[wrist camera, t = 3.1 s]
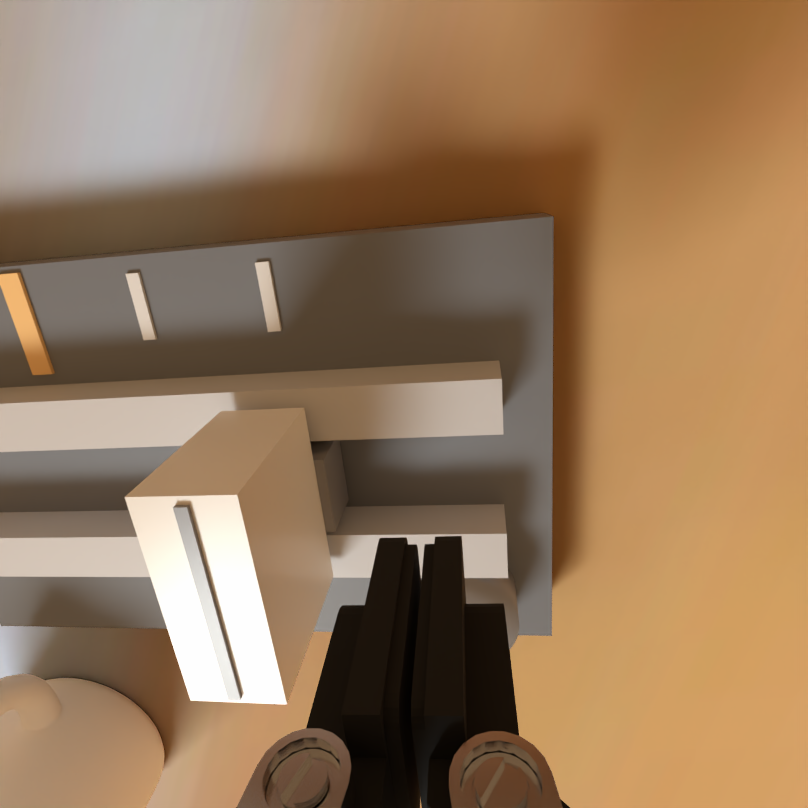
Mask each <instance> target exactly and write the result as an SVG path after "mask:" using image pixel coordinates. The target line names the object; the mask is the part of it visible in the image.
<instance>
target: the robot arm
mask: <svg viewBox="0 0 808 808" xmlns="http://www.w3.org/2000/svg"><path fill="white" fill-rule="evenodd" d="M420 797H421V804H422V808H570V807H569V806H567V805H566V804H565V803H564V802H563V801H562V800H561V799H560V797H559V794H558V791H557V787H556V784H555V781H554V778H553V775H552V772H551V770H550V768H549V766H548V764H547V762H546V759H545V757H544V756H543V755H542V754H541V753H540V752H539V751H538V750H537V748H536V747H535V746H534V745H533V744H531V743H530V742H528V741H527V740H525V739H523V738H522V737H520V736H519V731H518V722H517V713H516V704H515V696H514V687H513V678H512V669H511V660H510V651H509V643H508V634H507V625H506V616H505V608H504V603H494V604H466V591H465V577H464V562H463V547H462V536H437V537H435V540H434V544H425V546H424V556H423V568H422V579H421V575H420V565H419V555H418V547H417V544H409V545H408V541H407V538H406V537H400V538H380V539H379V542H378V546H377V551H376V555H375V560H374V564H373V569H372V574H371V578H370V583H369V588H368V592H367V597H366V602H365V605H342V606H341V607H340V609H339V612H338V614H337V618H336V622H335V625H334V629H333V633H332V636H331V640H330V644H329V647H328V651H327V655H326V658H325V662H324V666H323V669H322V673H321V676H320V680H319V684H318V687H317V691H316V695H315V698H314V702H313V706H312V709H311V713H310V717H309V720H308V724H307V728H306V729H302V730H299V731H295V732H292V733H290V734H288V735H287V736H285V737H283V738H281V739H280V740H278V741H277V742H276V743H275V744H274V745H273V746H272V747H271V748H270V749H268V750H267V751H266V753H265V754H264V756H263V757H262V759H261V760H260V762H259V763H258V765H257V767H256V769H255V771H254V773H253V775H252V777H251V779H250V781H249V783H248V785H247V787H246V789H245V791H244V793H243V796H242V798H241V800H240V802H239V804H238V806H237V807H236V808H420Z"/></svg>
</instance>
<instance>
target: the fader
mask: <svg viewBox="0 0 808 808" xmlns="http://www.w3.org/2000/svg"><path fill="white" fill-rule="evenodd" d="M125 500H126V503H127V506H128V510H129V513H130V516H131V519H132V522H133V525H134V528H135V531H136V534H137V537H138V540H139V543H140V547H141V550H142V553H143V556H144V559H145V562H146V565H147V568H148V571H149V574H150V577H151V580H152V583H153V587H154V590H155V593H156V596H157V599H158V602H159V605H160V608H161V611H162V614H163V617H164V620H165V624H166V627H167V630H168V633H169V636H170V639H171V642H172V645H173V648H174V651H175V654H176V657H177V660H178V664H179V667H180V670H181V673H182V676H183V679H184V682H185V685H186V688H187V691H188V694H189V697H190V700H191V701H212V702H238V703H263V704H287V703H288V700H289V697H290V695H291V692H292V689H293V686H294V684H295V681H296V678H297V675H298V673H299V670H300V667H301V664H302V661H303V659H304V656H305V653H306V650H307V648H308V645H309V642H310V639H311V637H312V634H313V631H314V628H315V626H316V623H317V620H318V617H319V614H320V612H321V609H322V606H323V603H324V601H325V598H326V595H327V592H328V590H329V587H330V584H331V581H332V579H333V570H332V564H331V558H330V553H329V547H328V541H327V535H326V532H336V530H337V527H338V525H339V522H340V520H341V517H342V515H343V512H344V510H345V507H346V505H347V502H348V500H349V498H348V492H347V485H346V479H345V472H344V466H343V459H342V452H341V446H340V440H332V441H310V438H309V432H308V427H307V421H306V415H305V409H304V408H281V409H259V410H237V411H221V412H219V413H218V414H217V415H216V416H215V417H214V418H213V419H212V420H210V421H209V422H208V423H207V424H206V425H205V426H204V427H203V428H202V429H200V430H199V431H198V432H197V433H196V434H195V435H194V436H193V437H191V438H190V439H189V440H188V441H187V442H186V443H185V444H184V445H182V446H181V447H180V448H179V449H178V450H177V451H176V452H175V453H173V454H172V455H171V456H170V457H169V458H168V459H167V460H166V461H164V462H163V463H162V464H161V465H160V466H159V467H158V468H157V469H156V470H154V471H153V472H152V473H151V474H150V475H149V476H148V477H147V478H145V479H144V480H143V481H142V482H141V483H140V484H139V485H138V486H136V487H135V488H134V489H133V490H132V491H131V492H130V493H129V494H127V495H126V496H125Z"/></svg>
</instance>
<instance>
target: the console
mask: <svg viewBox="0 0 808 808" xmlns="http://www.w3.org/2000/svg"><path fill="white" fill-rule="evenodd" d="M553 227H554V216H551V215H549V214H546V213H537V214H526V215H515V216H504V217H494V218H483V219H472V220H461V221H451V222H440V223H429V224H418V225H408V226H397V227H386V228H376V229H365V230H354V231H343V232H333V233H322V234H311V235H300V236H290V237H279V238H268V239H257V240H247V241H236V242H225V243H214V244H204V245H193V246H182V247H171V248H161V249H150V250H139V251H128V252H118V253H107V254H96V255H85V256H75V257H64V258H53V259H42V260H32V261H21V262H10V263H0V624H1V626H49V627H103V628H158V629H167V627H166V624H165V620H164V617H163V614H162V611H161V608H160V605H159V602H158V599H157V596H156V593H155V590H154V587H153V583H152V580H151V577H150V574H149V571H148V568H147V565H146V562H145V559H144V556H143V553H142V550H141V547H140V543H139V540H138V537H137V534H136V531H135V528H134V525H133V522H132V519H131V516H130V513H129V510H128V506H127V503H126V500H125V496H126V495H127V494H129V493H130V492H131V491H132V490H133V489H134V488H135V487H136V486H138V485H139V484H140V483H141V482H142V481H143V480H144V479H145V478H147V477H148V476H149V475H150V474H151V473H152V472H153V471H154V470H156V469H157V468H158V467H159V466H160V465H161V464H162V463H163V462H164V461H166V460H167V459H168V458H169V457H170V456H171V455H172V454H173V453H175V452H176V451H177V450H178V449H179V448H180V447H181V446H182V445H184V444H185V443H186V442H187V441H188V440H189V439H190V438H191V437H193V436H194V435H195V434H196V433H197V432H198V431H199V430H200V429H202V428H203V427H204V426H205V425H206V424H207V423H208V422H209V421H210V420H212V419H213V418H214V417H215V416H216V415H217V414H218V413H219V412H221V411H237V410H259V409H281V408H304V409H305V415H306V421H307V427H308V432H309V438H310V441H332V440H340V446H341V452H342V459H343V466H344V472H345V479H346V485H347V492H348V498H349V500H348V502H347V505H346V507H345V510H344V512H343V515H342V517H341V520H340V522H339V525H338V527H337V530H336V532H326V535H327V541H328V547H329V553H330V558H331V564H332V570H333V579H332V581H331V584H330V587H329V590H328V592H327V595H326V598H325V601H324V603H323V606H322V609H321V612H320V614H319V617H318V620H317V623H316V626H315V628H314V631H322V632H333V629H334V625H335V622H336V618H337V614H338V612H339V609H340V607H341V606H342V605H365V602H366V597H367V592H368V588H369V583H370V578H371V574H372V569H373V564H374V560H375V555H376V551H377V546H378V542H379V539H380V538H400V537H406V538H407V541H408V545H409V544H417V547H418V555H419V565H420V575H421V579H422V568H423V556H424V546H425V544H434V540H435V537H437V536H462V547H463V562H464V577H465V591H466V604H494V603H504V608H505V616H506V625H507V634H508V643H509V649H510V648H511V647H512V646H513V644H514V643H515V641H516V639H517V636H518V635H540V636H552V450H553Z"/></svg>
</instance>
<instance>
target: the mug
mask: <svg viewBox="0 0 808 808" xmlns="http://www.w3.org/2000/svg"><path fill="white" fill-rule="evenodd" d="M164 756H165V755H164V747H163V743H162V740H161V737H160V734H159V732H158V730H157V728H156V726H155V725H154V723H153V722H152V720H151V719H150V718H149V716H148V715H147V714H146V713H145V712H144V711H143V710H142V709H141V708H140V707H139V706H138V705H136V704H135V703H134V702H133V701H131V700H130V699H129V698H127V697H126V696H124V695H122V694H121V693H119V692H117V691H115V690H113V689H111V688H109V687H107V686H104V685H101V684H99V683H96V682H92V681H89V680H83V679H77V678H56V679H49V680H43V679H41V678H39V677H37V676H34V675H30V674H18V675H12V676H6V677H4V678H1V679H0V808H146V806H147V804H148V802H149V800H150V798H151V796H152V794H153V792H154V790H155V788H156V786H157V784H158V782H159V779H160V776H161V773H162V770H163V767H164Z"/></svg>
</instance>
